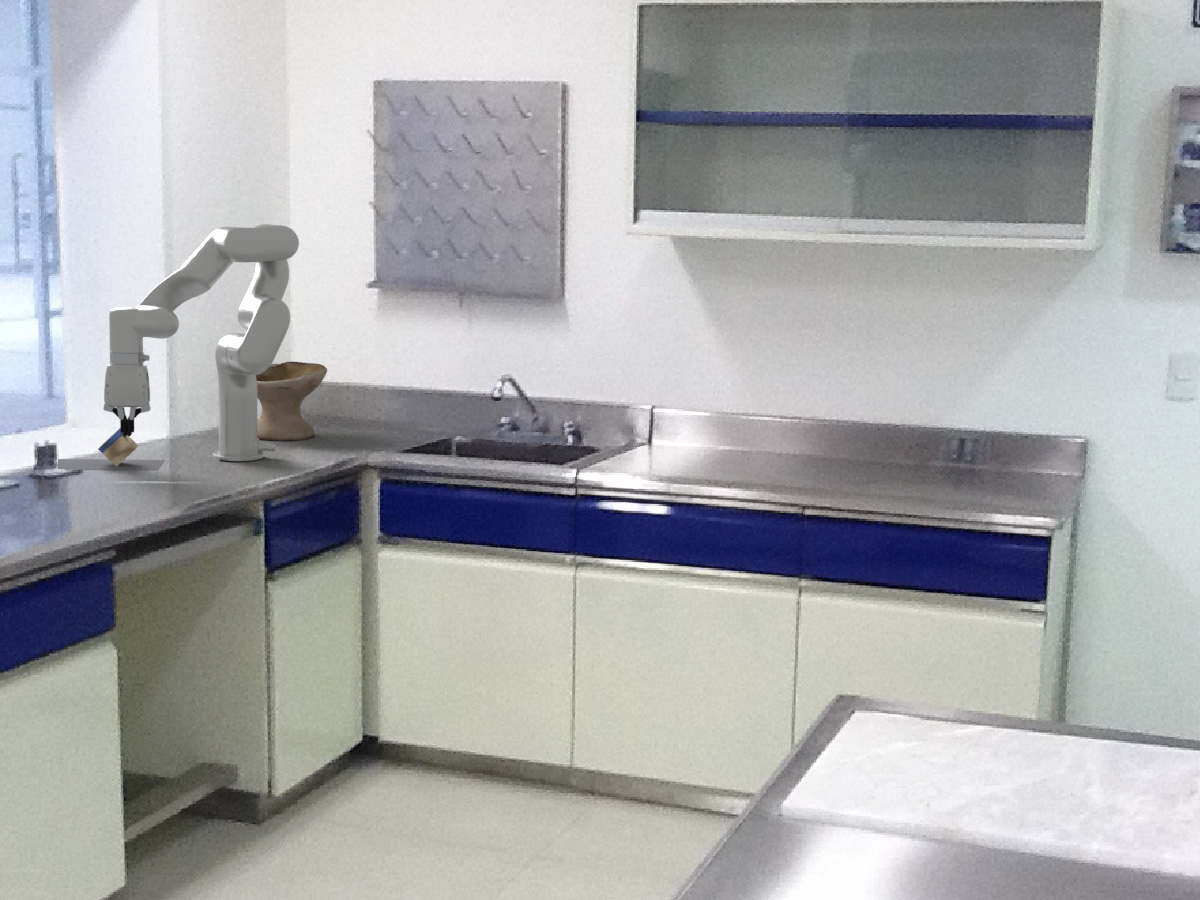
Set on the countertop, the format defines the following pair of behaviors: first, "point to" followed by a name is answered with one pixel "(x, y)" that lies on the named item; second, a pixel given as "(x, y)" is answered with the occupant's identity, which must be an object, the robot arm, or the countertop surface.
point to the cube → (118, 447)
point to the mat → (108, 464)
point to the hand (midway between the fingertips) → (127, 435)
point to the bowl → (286, 399)
